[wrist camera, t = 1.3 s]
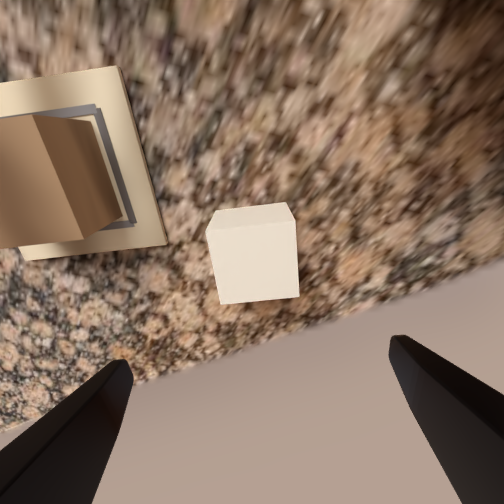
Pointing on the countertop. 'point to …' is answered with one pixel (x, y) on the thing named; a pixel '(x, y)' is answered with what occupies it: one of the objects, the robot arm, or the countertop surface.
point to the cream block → (254, 253)
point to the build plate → (112, 148)
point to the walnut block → (52, 181)
